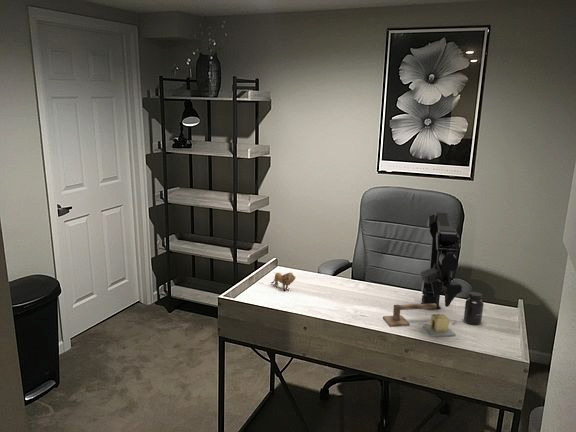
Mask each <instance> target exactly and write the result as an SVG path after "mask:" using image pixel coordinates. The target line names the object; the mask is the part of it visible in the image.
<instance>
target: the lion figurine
mask: <svg viewBox="0 0 576 432" xmlns="http://www.w3.org/2000/svg"><path fill="white" fill-rule="evenodd" d="M296 278H297V277H296V276H295V275H294V274H293V272H287V273H285V274H281V273H280V272H276V273H275V275H274V279H273V281H272V282H270V284H274V288H275V287H276V288H278V285H279V283H281V284H282V291H283V290H285V291H286V289H287V288H288V287H289V286H290V285H291V284H292V283H293V282H294V281H295V279H296ZM277 284H278V285H277Z"/></svg>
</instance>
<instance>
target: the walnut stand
mask: <svg viewBox="0 0 576 432" xmlns="http://www.w3.org/2000/svg"><path fill="white" fill-rule="evenodd" d="M433 308H437V305H436V304H435V303H433V304H421V303H417V304H416V303H414V304H413V303H411V304H393V310H392V311H393V313H392V315H383V316H382V318H383V320H384V321H385V323H387V325H388V326H389V327H390V328H394V327H395V328H396V327H410V326H411V325H410V322H409V321H408V320H407V319H406V318H405V317H404V316H403V315H402V314H401V311H402V310H403V311H405V310H434V309H433Z"/></svg>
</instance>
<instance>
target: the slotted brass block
mask: <svg viewBox="0 0 576 432" xmlns="http://www.w3.org/2000/svg"><path fill="white" fill-rule="evenodd" d="M430 317H431V318H430V325H431V326H430V328H431V329H435V330H434V332H435V333H444V332H448V328H449V326H450V318H449V317H448V316H447V315H446V314H444V313H439V314H438V313H435V314H431V316H430ZM449 329H450V328H449Z"/></svg>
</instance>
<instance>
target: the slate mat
mask: <svg viewBox="0 0 576 432" xmlns="http://www.w3.org/2000/svg"><path fill="white" fill-rule="evenodd" d="M430 326H431V324H429V325H427V324H426V325H425V324H424V325H423V326H422V328H424V330H426V332H428V333H429V335H430V336H431V337H433V338H447V337H456V335H457V334H456V333H454V332H453V331H452V330H451V329H450V328H448V332H444V333H435V332H434V330H435V329H431V328H430Z"/></svg>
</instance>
